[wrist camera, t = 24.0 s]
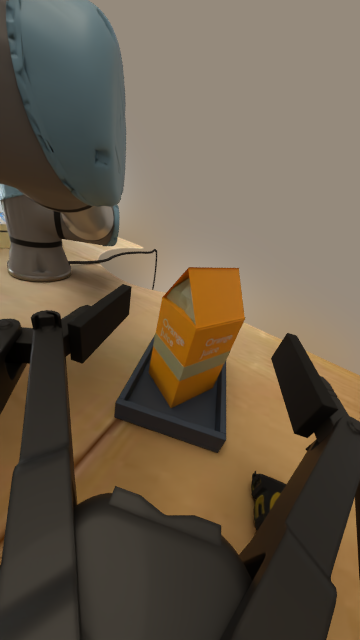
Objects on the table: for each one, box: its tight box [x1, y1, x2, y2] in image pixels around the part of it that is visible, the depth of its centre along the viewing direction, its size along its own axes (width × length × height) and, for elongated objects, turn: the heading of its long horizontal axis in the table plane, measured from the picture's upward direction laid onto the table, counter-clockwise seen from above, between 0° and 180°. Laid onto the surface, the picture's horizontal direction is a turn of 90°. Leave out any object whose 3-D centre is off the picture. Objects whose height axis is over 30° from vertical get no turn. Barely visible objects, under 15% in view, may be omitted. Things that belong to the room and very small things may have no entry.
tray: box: [115, 336, 226, 453], centre depth 33 cm, size 19×15×3 cm
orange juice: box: [149, 267, 245, 408], centre depth 28 cm, size 8×9×20 cm
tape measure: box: [251, 471, 287, 531], centre depth 19 cm, size 7×7×4 cm
